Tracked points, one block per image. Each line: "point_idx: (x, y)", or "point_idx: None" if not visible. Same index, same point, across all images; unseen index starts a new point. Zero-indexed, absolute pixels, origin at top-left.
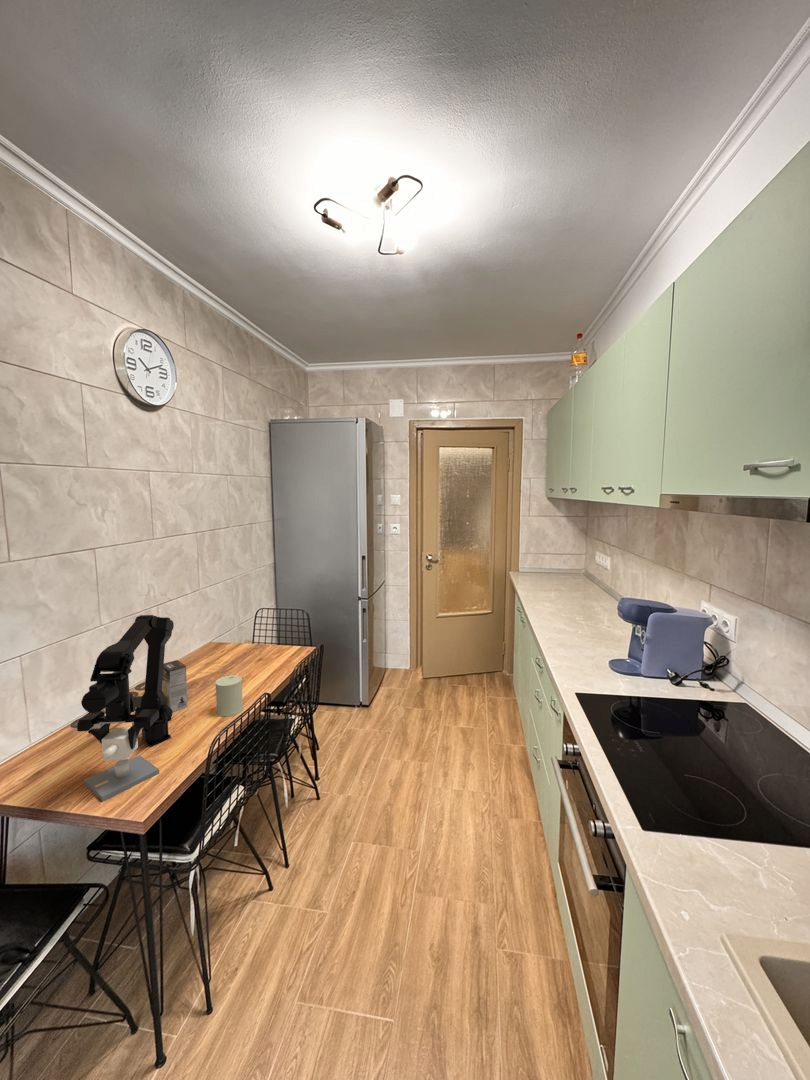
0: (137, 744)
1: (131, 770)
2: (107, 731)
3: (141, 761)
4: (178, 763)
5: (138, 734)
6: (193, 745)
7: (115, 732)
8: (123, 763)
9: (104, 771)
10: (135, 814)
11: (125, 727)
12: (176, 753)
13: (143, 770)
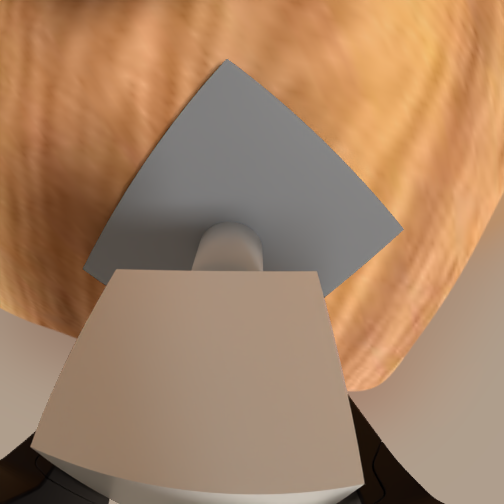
0: (321, 296)
1: (263, 222)
2: (65, 487)
3: (280, 136)
4: (456, 153)
5: (384, 450)
6: (473, 9)
7: (144, 500)
8: None
9: (119, 218)
10: (359, 384)
11: (176, 488)
12: (426, 51)
13: (331, 229)
